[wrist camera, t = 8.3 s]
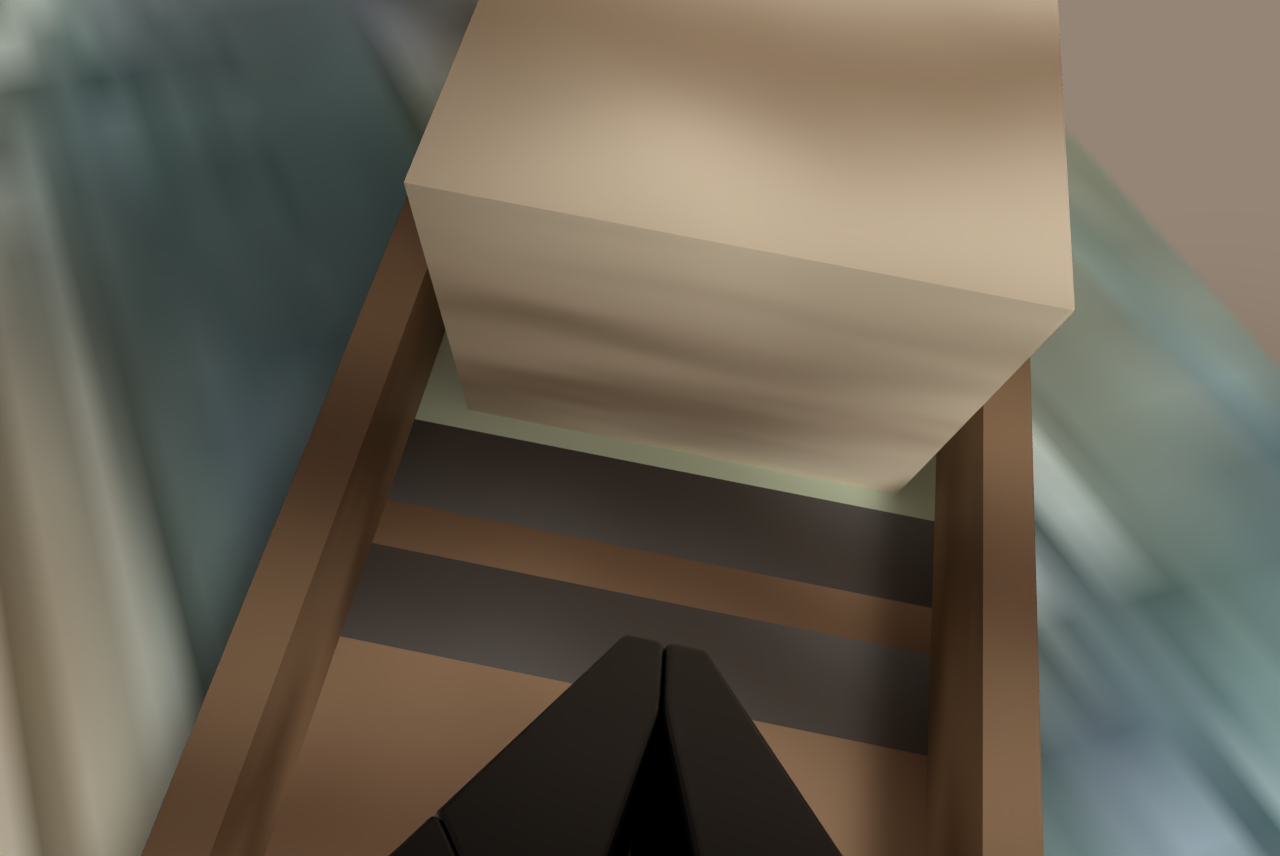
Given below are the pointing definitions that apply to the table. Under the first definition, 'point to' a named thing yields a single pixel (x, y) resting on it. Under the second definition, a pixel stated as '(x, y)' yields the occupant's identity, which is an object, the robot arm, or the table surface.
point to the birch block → (750, 221)
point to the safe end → (662, 451)
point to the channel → (609, 621)
